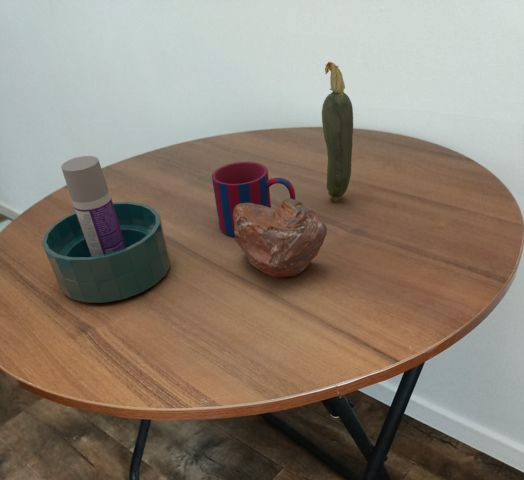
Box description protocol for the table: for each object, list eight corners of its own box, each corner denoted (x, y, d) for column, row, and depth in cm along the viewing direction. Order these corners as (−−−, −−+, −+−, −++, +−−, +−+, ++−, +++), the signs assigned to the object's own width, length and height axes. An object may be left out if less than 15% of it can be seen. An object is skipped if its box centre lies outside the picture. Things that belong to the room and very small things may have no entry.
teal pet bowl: (41, 280, 73) (21, 235, 68) (129, 235, 80) (117, 192, 76) (99, 321, 64) (81, 273, 60) (193, 266, 72) (183, 220, 67)
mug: (234, 209, 84) (228, 159, 78) (304, 219, 79) (302, 166, 74) (210, 233, 78) (201, 181, 73) (283, 245, 74) (279, 191, 69)
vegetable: (356, 200, 82) (361, 59, 69) (339, 210, 80) (341, 67, 67) (334, 193, 85) (334, 56, 72) (317, 203, 83) (314, 64, 69)
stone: (330, 264, 69) (330, 193, 63) (308, 300, 64) (305, 227, 57) (245, 251, 74) (236, 183, 67) (217, 283, 68) (205, 213, 62)
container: (131, 258, 74) (100, 153, 64) (131, 275, 70) (98, 167, 60) (98, 263, 74) (62, 158, 64) (96, 281, 70) (57, 173, 60)
